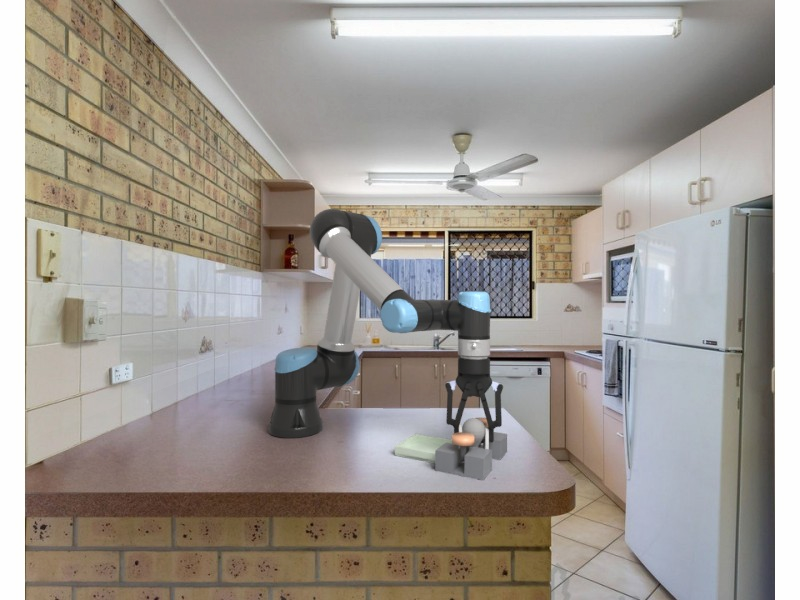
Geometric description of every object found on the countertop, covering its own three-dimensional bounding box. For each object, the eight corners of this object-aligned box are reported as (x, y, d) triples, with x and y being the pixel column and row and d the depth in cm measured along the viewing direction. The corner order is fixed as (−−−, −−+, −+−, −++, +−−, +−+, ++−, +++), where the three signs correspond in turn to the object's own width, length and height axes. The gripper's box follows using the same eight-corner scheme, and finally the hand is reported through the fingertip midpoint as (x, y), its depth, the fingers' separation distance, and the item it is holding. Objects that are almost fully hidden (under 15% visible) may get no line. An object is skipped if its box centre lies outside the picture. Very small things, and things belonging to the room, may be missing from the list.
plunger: (448, 462, 97) (448, 437, 97) (456, 455, 101) (456, 431, 101) (470, 466, 94) (470, 440, 94) (477, 458, 99) (477, 434, 99)
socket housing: (435, 470, 98) (435, 450, 98) (465, 444, 115) (465, 427, 115) (483, 480, 93) (483, 458, 93) (507, 451, 110) (507, 433, 110)
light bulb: (485, 465, 101) (486, 422, 101) (461, 464, 102) (462, 420, 102) (484, 457, 106) (485, 416, 106) (461, 455, 107) (462, 414, 107)
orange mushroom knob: (469, 443, 109) (469, 421, 109) (476, 437, 114) (476, 416, 114) (489, 446, 107) (489, 424, 107) (495, 440, 111) (495, 419, 111)
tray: (394, 455, 107) (394, 446, 107) (415, 441, 118) (415, 433, 118) (438, 463, 102) (438, 454, 102) (456, 449, 112) (456, 440, 112)
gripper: (433, 357, 102) (433, 458, 102) (515, 359, 99) (515, 462, 99) (435, 354, 109) (435, 447, 109) (512, 355, 106) (511, 451, 106)
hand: (473, 454), depth 104 cm, fingers closed on light bulb, 5 cm apart
